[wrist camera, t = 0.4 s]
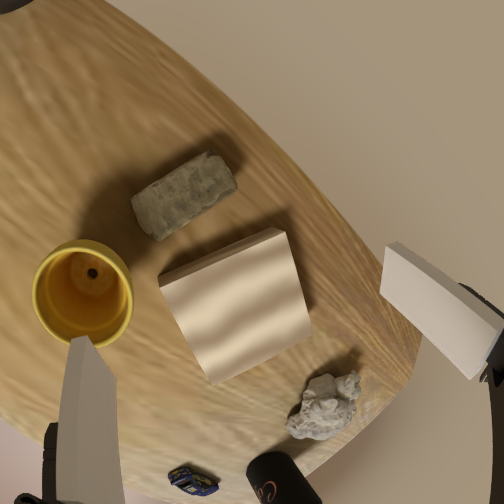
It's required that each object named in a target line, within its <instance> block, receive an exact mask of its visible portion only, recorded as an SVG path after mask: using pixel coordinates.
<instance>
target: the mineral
mask: <svg viewBox="0 0 504 504" xmlns="http://www.w3.org/2000/svg"><path fill="white" fill-rule="evenodd" d="M360 380H361V377H360V376H359V374H358V373H356V372H355V370H351V372H350V374H349V375H344V376H342V377H337V378H336V379H335V378H334V377H332V375H330V374H328V373H325V374H323V375H322V376H319V377H316V378H314V379H311V380H310V381H309V385H308V387H307V389H306V390H305V391H304V392H303V401H302V408H301V411H300V412H299V413H298V414H293V415H292V416H290V417H289V419H288V421H287V422H286V428H287V429H288V431H289V432H290V434H291V435H292V436H293V437H294V438H297V439H304V438H308V437H309V438H313V439H315V440H327V439H329V438H331V437H334V436H335V435H336V434H338V433H340V432H341V431H343V430H344V429H345V427H346V426H347V425H348V424H349V423H350V421H351V419H352V417H353V415H354V413H355V411H356V407H355V401H354V399H357V398H358V397H359V395H360V393H361V388H360V386H359V385H358V383H359V382H360Z"/></svg>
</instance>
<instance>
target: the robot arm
mask: <svg viewBox="0 0 504 504" xmlns="http://www.w3.org/2000/svg"><path fill="white" fill-rule="evenodd" d="M31 1H32V0H0V14H5V13H8V12H11V11H14V10H16V9H18V8H20V7H22V6H24V5H26V4H28V3H29V2H31ZM380 294H381V295H382V296H383V297H384V298H385V299H387V300H388V301H389V302H390V303H391V304H392V305H393V306H394V307H395V308H396V309H397V310H398V311H400V312H401V313H402V314H403V315H404V316H405V317H406V318H407V319H408V320H409V321H410V322H411V323H412V324H413V325H414V326H416V327H417V328H418V329H419V330H420V331H421V332H422V333H423V334H424V335H425V336H426V337H427V338H428V339H429V340H430V341H431V342H432V343H433V344H434V345H435V346H436V347H437V348H438V349H439V350H440V351H441V352H442V353H443V354H444V355H445V356H446V357H447V358H448V359H450V361H451V362H452V363H453V364H454V365H455V366H456V367H457V368H458V369H459V370H460V371H461V372H462V373H463V374H464V375H465V376H466V377H467V378H468V379H469V380H470V379H471V378H472V377H474V375H476V374H477V373H478V372H479V371H480V369H481V368H482V366H483V365H484V363H485V361H487V363H488V365H487V367H486V368H485V370H484V372H483V373H482V375H481V376H480V382H482V381H483V379H484V378H485V376H486V375H487V377H486V379H485V381H484V382H488V384H489V392H490V401H491V414H492V429H493V465H492V466H493V467H492V483H491V494H490V503H489V504H504V314H503V313H502V312H501V311H500V310H499V309H497V308H496V307H495V306H494V305H492V304H491V303H490V302H488V301H487V300H485V298H483V297H482V296H481V295H478V293H477V292H475V291H474V290H473V289H471V288H470V287H468V286H466V285H464V284H461V283H457V282H455V281H454V280H453V279H451V278H450V277H448V276H447V275H446V274H444V273H443V272H442V271H440V270H439V269H437V268H436V267H435V266H433V265H432V264H430V263H429V262H427V261H426V260H425V259H423V258H421V257H420V256H419V255H417V254H416V253H414V252H413V251H411V250H410V249H408V248H407V247H405V246H404V245H402V244H401V243H399V242H394V243H391V244H389V245H386V249H385V258H384V266H383V273H382V281H381V287H380ZM43 459H44V461H43V468H42V500H41V499H39V498H37V497H35V496H33V495H31V494H29V493H22V494H20V495H19V496H18V497H17V498H16V499H15V501H14V504H125V498H124V492H123V484H122V476H121V468H120V458H119V446H118V431H117V405H116V378H115V376H114V375H113V373H112V372H111V371H110V369H109V368H108V366H107V365H106V363H105V362H104V360H103V359H102V358H101V356H100V355H99V353H98V351H97V350H96V348H95V347H94V345H93V344H92V342H91V341H90V339H89V337H88V336H87V335H86V336H82V337H78V338H73V339H71V343H70V348H69V353H68V358H67V364H66V369H65V375H64V382H63V388H62V395H61V403H60V412H59V422H56V423H50V424H49V426H48V428H47V431H46V433H45V436H44V451H43Z"/></svg>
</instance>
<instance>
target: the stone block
mask: <svg viewBox="0 0 504 504" xmlns="http://www.w3.org/2000/svg"><path fill="white" fill-rule="evenodd" d="M236 190H237V182H236V180H235V178H234V177H233V176H232V173H231V171H230V169H229V168H228V167H227V166H226V164H225V162H224V161H223V159H222V158H221V156H219V155H218V154H217V153H216V151H215V150H214V149H209V150H206V151H205V152H203V153H201V154H199V155H197V156H196V157H194V158H192V159H190V160H189V161H187V162H185V163H184V164H182V165H181V166H179V167H177V168H176V169H174V170H173V171H172V172H170V173H169V174H167V175H165V176H164V177H162V178H160V179H158V180H157V181H155V182H153V183H151V184H150V185H148V186H147V187H145V188H144V189H142V190H141V191H140V192H138V193H137V194H136V195H134V196H133V197H132V198H131V199H130V200H131V205H132V210H133V211H134V214H135V217H136V220H137V222H138V224H139V225H140V226H141V228H142V229H143V231H144V232H145V233H146V234H147V235H148V236H149V237H150V238H152V239H154V240H156V241H159V242H161V241H162V240H163V239H164V238H166V237H167V236H168V235H170V234H171V233H173V232H174V231H176V230H178V229H180V228H181V227H183V226H184V225H186V224H187V223H189V222H190V221H192V220H194V219H195V218H197V217H198V216H200V215H201V214H203V213H205V212H206V211H208V210H209V209H211V208H212V207H214V206H215V205H217V204H218V203H220V202H221V201H223V200H224V199H226V198H227V197H229V196H231V195H232V194H233V193H235V191H236Z"/></svg>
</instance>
